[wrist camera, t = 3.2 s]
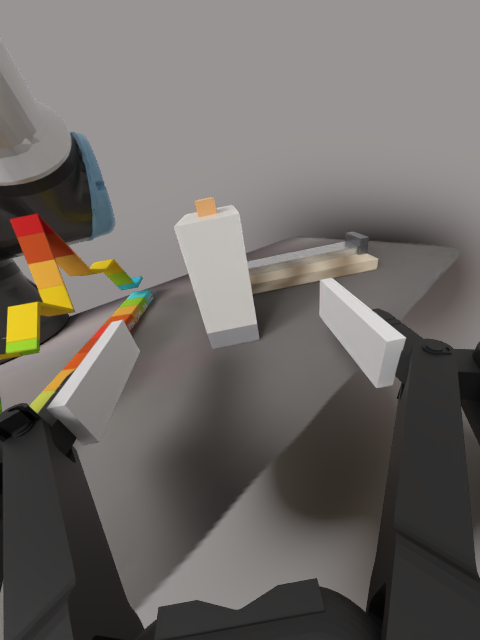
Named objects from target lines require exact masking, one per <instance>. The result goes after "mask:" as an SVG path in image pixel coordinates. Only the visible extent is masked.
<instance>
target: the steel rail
mask: <svg viewBox="0 0 480 640" xmlns="http://www.w3.org/2000/svg"><path fill="white" fill-rule="evenodd" d="M368 239H369V237H367V236H364V235H361V234H359V233H355V232H348V233H346V235H345V242H340V243H335V244H330V245H325V246H321V247H316V248H311V249H306V250H301V251H296V252H291V253H286V254H281V255H276V256H271V257H267V258H262V259H257V260H252V261H247V264H248V270H249V276H253V275H258V274H263V273H268V272H273V271H278V270H283V269H287V268H292V267H297V266H302V265H307V264H312V263H317V262H322V261H327V260H332V259H337V258H342V257H347V256H352V255H356V254H358V255H362V254H367V248H368Z"/></svg>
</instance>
